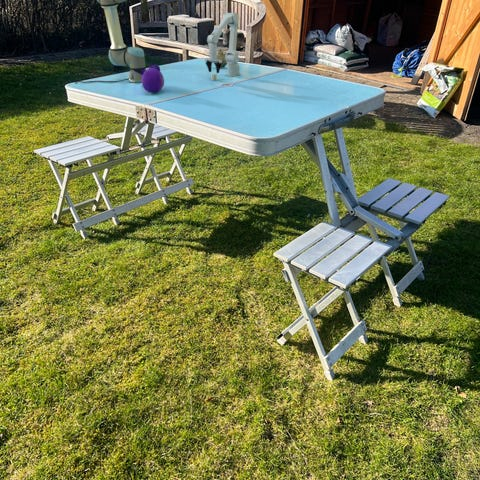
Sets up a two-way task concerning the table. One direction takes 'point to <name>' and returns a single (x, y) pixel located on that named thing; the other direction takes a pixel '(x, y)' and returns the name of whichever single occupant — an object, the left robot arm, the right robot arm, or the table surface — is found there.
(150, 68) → the toy
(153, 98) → the table surface
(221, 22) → the right robot arm
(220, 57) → the teapot
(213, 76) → the cylinder
